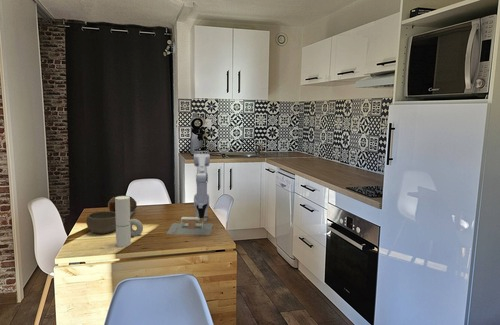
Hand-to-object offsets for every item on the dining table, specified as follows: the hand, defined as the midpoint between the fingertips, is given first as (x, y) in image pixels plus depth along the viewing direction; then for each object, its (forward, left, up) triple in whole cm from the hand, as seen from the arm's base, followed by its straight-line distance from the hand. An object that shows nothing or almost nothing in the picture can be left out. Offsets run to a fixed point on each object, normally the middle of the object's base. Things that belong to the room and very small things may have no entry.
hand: (201, 217), depth 207 cm
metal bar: (-5, -16, -10) cm, 19 cm away
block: (-11, -7, -10) cm, 17 cm away
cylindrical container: (+16, -39, -11) cm, 43 cm away
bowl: (-5, -57, -11) cm, 58 cm away
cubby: (-9, -7, -10) cm, 16 cm away
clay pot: (-40, -55, -11) cm, 69 cm away
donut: (+3, -37, -11) cm, 39 cm away
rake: (-4, 0, -3) cm, 5 cm away
